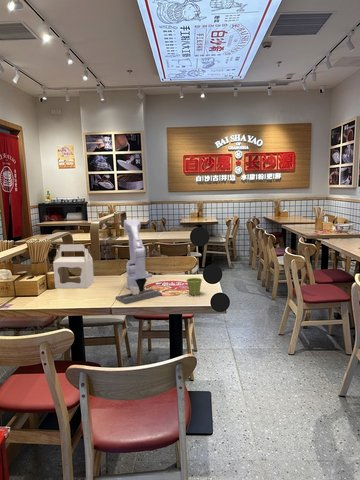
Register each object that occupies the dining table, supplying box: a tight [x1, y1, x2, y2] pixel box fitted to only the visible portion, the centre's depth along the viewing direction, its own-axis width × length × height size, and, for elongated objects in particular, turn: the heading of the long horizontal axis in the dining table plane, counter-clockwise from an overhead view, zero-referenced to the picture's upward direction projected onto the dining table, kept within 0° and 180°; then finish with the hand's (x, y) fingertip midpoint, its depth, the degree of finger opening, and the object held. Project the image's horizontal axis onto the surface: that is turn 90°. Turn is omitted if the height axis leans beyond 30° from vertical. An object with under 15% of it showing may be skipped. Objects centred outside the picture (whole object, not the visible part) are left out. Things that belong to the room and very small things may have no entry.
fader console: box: [115, 288, 163, 305], centre depth 197 cm, size 12×24×2 cm, turn 127°
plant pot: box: [185, 277, 203, 296], centre depth 200 cm, size 9×9×9 cm
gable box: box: [52, 243, 95, 289], centre depth 225 cm, size 22×13×28 cm, turn 85°
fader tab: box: [129, 285, 139, 296], centre depth 195 cm, size 4×3×5 cm
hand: (141, 291), depth 198 cm, fingers closed
